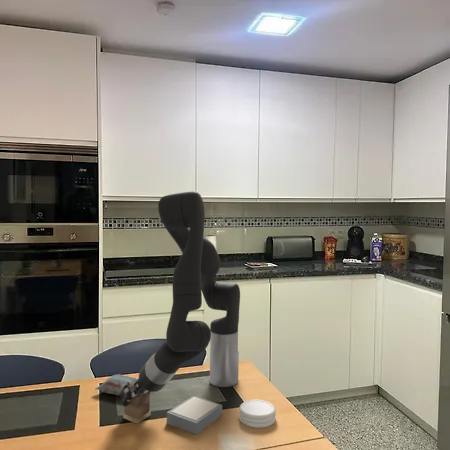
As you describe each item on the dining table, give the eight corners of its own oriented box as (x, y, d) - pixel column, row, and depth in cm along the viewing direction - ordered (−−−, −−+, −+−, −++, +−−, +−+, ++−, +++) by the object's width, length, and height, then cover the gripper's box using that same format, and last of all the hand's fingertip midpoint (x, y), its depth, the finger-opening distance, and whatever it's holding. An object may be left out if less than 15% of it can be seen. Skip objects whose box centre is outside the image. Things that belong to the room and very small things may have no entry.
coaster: (245, 431, 111) (245, 418, 111) (234, 412, 121) (235, 400, 121) (281, 426, 114) (281, 413, 114) (267, 408, 123) (268, 397, 123)
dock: (193, 405, 124) (193, 395, 124) (222, 415, 119) (222, 404, 119) (166, 423, 114) (166, 411, 114) (196, 434, 109) (196, 422, 109)
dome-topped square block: (136, 410, 121) (137, 378, 120) (150, 415, 118) (150, 383, 118) (123, 418, 117) (123, 385, 116) (137, 423, 114) (137, 390, 113)
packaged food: (126, 402, 126) (126, 386, 126) (94, 394, 131) (94, 379, 130) (143, 391, 134) (143, 376, 134) (112, 384, 139) (113, 369, 138)
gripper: (174, 350, 116) (149, 380, 125) (129, 364, 106) (105, 395, 115) (187, 375, 113) (159, 403, 122) (141, 391, 103) (115, 421, 112)
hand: (133, 399), depth 118 cm, fingers closed on dome-topped square block, 5 cm apart
